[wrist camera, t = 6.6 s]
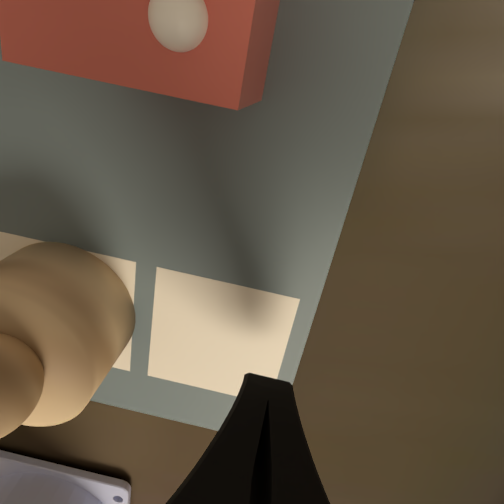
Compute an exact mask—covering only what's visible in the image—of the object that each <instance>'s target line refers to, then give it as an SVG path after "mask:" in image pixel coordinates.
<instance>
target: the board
mask: <svg viewBox="0 0 504 504" xmlns="http://www.w3.org/2000/svg"><path fill="white" fill-rule="evenodd" d="M413 2H414V0H280V3H279V8H278V14H277V19H276V24H275V30H274V35H273V41H272V46H271V52H270V57H269V62H268V68H267V73H266V79H265V84H264V90H263V95H262V101H259V102H257V103H254V104H252V105H250V106H247V107H245V108H242V109H240V110H234V109H229V108H224V107H220V106H215V105H210V104H205V103H201V102H196V101H191V100H186V99H182V98H177V97H172V96H167V95H163V94H158V93H153V92H149V91H144V90H139V89H134V88H130V87H125V86H120V85H115V84H111V83H106V82H101V81H96V80H92V79H87V78H82V77H78V76H73V75H68V74H63V73H59V72H54V71H49V70H44V69H40V68H35V67H30V66H25V65H21V64H16V63H11V62H7V61H2V50H1V40H0V261H1V260H2V259H4V258H6V257H8V256H9V255H11V254H13V253H14V252H16V251H18V250H20V249H21V248H23V247H25V246H28V245H30V244H34V243H39V242H59V243H65V244H69V245H73V246H76V247H78V248H81V249H83V250H85V251H87V252H89V253H91V254H93V255H94V256H96V257H97V258H99V259H100V260H102V261H103V262H104V263H105V264H107V265H108V266H109V267H110V268H111V269H112V270H113V271H114V272H115V273H116V274H117V275H118V277H119V278H120V279H121V280H122V282H123V283H124V285H125V287H126V288H127V290H128V292H129V294H130V296H131V298H132V302H133V305H134V309H135V321H136V322H135V329H134V332H133V335H132V337H131V339H130V341H129V342H128V344H127V345H126V347H125V348H124V350H123V351H122V353H121V354H120V356H119V357H118V359H117V360H116V362H115V363H114V365H113V366H112V368H111V369H110V371H109V372H108V374H107V375H106V377H105V378H104V380H103V381H102V383H101V384H100V386H99V387H98V389H97V390H96V392H95V393H94V395H93V396H92V398H91V399H90V401H95V402H99V403H103V404H107V405H112V406H116V407H120V408H124V409H128V410H133V411H137V412H141V413H145V414H149V415H154V416H158V417H162V418H166V419H170V420H175V421H179V422H183V423H187V424H191V425H196V426H200V427H204V428H208V429H212V430H217V431H219V429H220V427H221V425H222V424H223V422H224V420H225V418H226V417H227V415H228V413H229V411H230V410H231V408H232V406H233V404H234V402H235V399H236V397H237V395H238V393H239V391H240V388H241V385H242V382H243V379H244V375H245V374H247V373H253V374H257V375H262V376H266V377H270V378H274V379H279V380H283V381H287V382H290V383H291V385H293V381H294V378H295V375H296V372H297V369H298V366H299V362H300V359H301V356H302V353H303V350H304V347H305V343H306V340H307V337H308V334H309V331H310V328H311V325H312V321H313V318H314V315H315V312H316V309H317V306H318V302H319V299H320V296H321V293H322V290H323V287H324V283H325V280H326V277H327V274H328V271H329V268H330V265H331V261H332V258H333V255H334V252H335V249H336V246H337V242H338V239H339V236H340V233H341V230H342V227H343V223H344V220H345V217H346V214H347V211H348V208H349V205H350V201H351V198H352V195H353V192H354V189H355V186H356V182H357V179H358V176H359V173H360V170H361V167H362V163H363V160H364V157H365V154H366V151H367V148H368V145H369V141H370V138H371V135H372V132H373V129H374V126H375V122H376V119H377V116H378V113H379V110H380V107H381V104H382V100H383V97H384V94H385V91H386V88H387V85H388V81H389V78H390V75H391V72H392V69H393V66H394V62H395V59H396V56H397V53H398V50H399V47H400V44H401V40H402V37H403V34H404V31H405V28H406V25H407V21H408V18H409V15H410V12H411V9H412V6H413Z"/></svg>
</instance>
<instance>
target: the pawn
mask: <svg viewBox="0 0 504 504" xmlns="http://www.w3.org/2000/svg"><path fill="white" fill-rule="evenodd" d="M135 322H136V321H135V309H134V305H133V302H132V298H131V296H130V294H129V292H128V290H127V288H126V287H125V285H124V283H123V282H122V280H121V279H120V278H119V277H118V275H117V274H116V273H115V272H114V271H113V270H112V269H111V268H110V267H109V266H108V265H107V264H105V263H104V262H103V261H102V260H100V259H99V258H97V257H96V256H94V255H93V254H91V253H89V252H87V251H85V250H83V249H81V248H78V247H76V246H73V245H69V244H65V243H59V242H39V243H34V244H30V245H28V246H25V247H23V248H21V249H20V250H18V251H16V252H14V253H13V254H11V255H9V256H8V257H6V258H4V259H2V260H1V261H0V438H2V437H4V436H6V435H8V434H9V433H11V432H12V431H14V430H15V429H16V428H18V427H19V426H20V425H26V426H35V427H38V426H54V425H58V424H62V423H64V422H67V421H69V420H71V419H73V418H74V417H76V416H77V415H78V414H79V413H81V412H82V410H83V409H84V408H85V407H86V405H87V404H88V402H89V401H90V399H91V398H92V396H93V395H94V393H95V392H96V390H97V389H98V387H99V386H100V384H101V383H102V381H103V380H104V378H105V377H106V375H107V374H108V372H109V371H110V369H111V368H112V366H113V365H114V363H115V362H116V360H117V359H118V357H119V356H120V354H121V353H122V351H123V350H124V348H125V347H126V345H127V344H128V342H129V341H130V339H131V337H132V335H133V332H134V329H135Z"/></svg>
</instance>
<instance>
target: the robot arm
mask: <svg viewBox="0 0 504 504" xmlns="http://www.w3.org/2000/svg"><path fill="white" fill-rule="evenodd" d="M130 496H131V486H130V484H129V483H128V482H126V481H124V480H121V479H117V478H113V477H109V476H105V475H101V474H97V473H93V472H89V471H85V470H80V469H76V468H72V467H68V466H64V465H60V464H56V463H52V462H48V461H44V460H39V459H35V458H31V457H27V456H23V455H19V454H15V453H11V452H7V451H3V450H0V504H130ZM166 504H330V502H329V500H328V498H327V495H326V493H325V490H324V488H323V485H322V483H321V480H320V478H319V475H318V473H317V470H316V467H315V464H314V462H313V459H312V456H311V453H310V450H309V447H308V444H307V441H306V438H305V435H304V431H303V428H302V425H301V421H300V417H299V414H298V410H297V406H296V402H295V397H294V392H293V386H292V385H291V383H290V382H287V381H283V380H279V379H274V378H270V377H266V376H262V375H257V374H253V373H247V374H245V375H244V379H243V382H242V385H241V388H240V391H239V393H238V395H237V397H236V399H235V402H234V404H233V406H232V408H231V410H230V411H229V413H228V415H227V417H226V418H225V420H224V422H223V424H222V425H221V427H220V429H219V431H218V432H217V434H216V435H215V437H214V438H213V440H212V442H211V443H210V445H209V446H208V448H207V449H206V451H205V452H204V454H203V455H202V457H201V458H200V460H199V461H198V462H197V464H196V465H195V467H194V468H193V469H192V471H191V472H190V473H189V475H188V476H187V477H186V479H185V480H184V481H183V483H182V484H181V485H180V487H179V488H178V489H177V490H176V492H175V493H174V494H173V495H172V497H171V498H170V499H169V500H168V501H167V503H166Z"/></svg>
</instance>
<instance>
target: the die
mask: <svg viewBox="0 0 504 504" xmlns="http://www.w3.org/2000/svg"><path fill="white" fill-rule="evenodd" d="M279 3H280V0H0V40H1V50H2V61H7V62H11V63H16V64H21V65H25V66H30V67H35V68H40V69H44V70H49V71H54V72H59V73H63V74H68V75H73V76H78V77H82V78H87V79H92V80H96V81H101V82H106V83H111V84H115V85H120V86H125V87H130V88H134V89H139V90H144V91H149V92H153V93H158V94H163V95H167V96H172V97H177V98H182V99H186V100H191V101H196V102H201V103H205V104H210V105H215V106H220V107H224V108H229V109H234V110H240V109H242V108H245V107H247V106H250V105H252V104H254V103H257V102H259V101H262V95H263V90H264V84H265V79H266V73H267V68H268V62H269V57H270V52H271V46H272V41H273V35H274V30H275V24H276V19H277V14H278V8H279Z"/></svg>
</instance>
